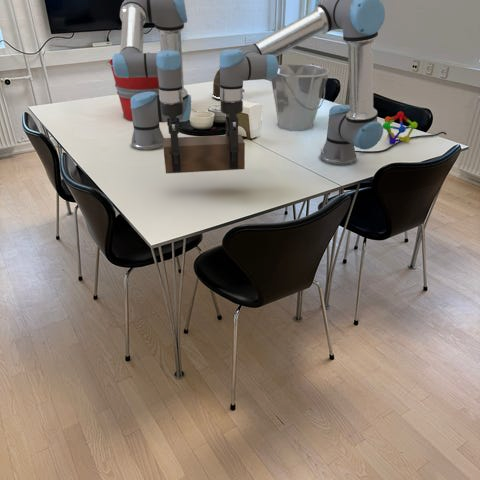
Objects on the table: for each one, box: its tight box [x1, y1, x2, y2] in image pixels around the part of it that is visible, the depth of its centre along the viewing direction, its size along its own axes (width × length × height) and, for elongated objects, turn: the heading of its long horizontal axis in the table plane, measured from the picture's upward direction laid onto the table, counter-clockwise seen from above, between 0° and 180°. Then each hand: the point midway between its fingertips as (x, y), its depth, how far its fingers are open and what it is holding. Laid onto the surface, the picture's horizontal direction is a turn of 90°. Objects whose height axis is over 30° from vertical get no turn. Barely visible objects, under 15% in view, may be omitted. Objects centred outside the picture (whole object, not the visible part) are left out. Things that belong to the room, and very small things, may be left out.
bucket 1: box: [105, 52, 159, 122], centre depth 239 cm, size 35×35×30 cm
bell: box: [212, 68, 220, 97], centre depth 278 cm, size 19×26×20 cm
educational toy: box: [382, 110, 418, 145], centre depth 207 cm, size 16×13×15 cm
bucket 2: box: [270, 63, 330, 131], centre depth 226 cm, size 30×30×28 cm
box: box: [162, 134, 246, 175], centre depth 157 cm, size 28×9×10 cm, turn 98°
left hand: (176, 165), depth 157 cm, fingers closed on box, 9 cm apart
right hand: (232, 163), depth 160 cm, fingers closed on box, 9 cm apart
